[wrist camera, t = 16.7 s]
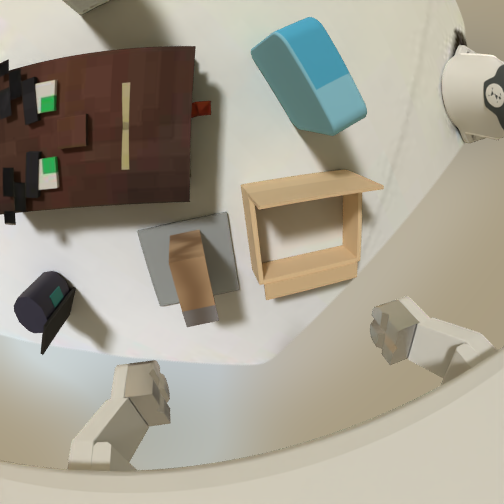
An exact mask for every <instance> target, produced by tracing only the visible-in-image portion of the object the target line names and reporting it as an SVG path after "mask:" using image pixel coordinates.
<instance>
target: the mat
mask: <svg viewBox="0 0 504 504" xmlns="http://www.w3.org/2000/svg"><path fill="white" fill-rule="evenodd" d="M194 230H200V235H201V240H202V245H203V250H204V255H205V259H206V264H207V269H208V273H209V277H210V282H211V287H212V291H213V295H218V294H222V293H227V292H231V291H236V290H239V285H238V279H237V273H236V267H235V261H234V255H233V249H232V243H231V237H230V230H229V224H228V218H227V213H226V212H223V213H218V214H213V215H208V216H203V217H198V218H193V219H189V220H184V221H179V222H174V223H170V224H165V225H160V226H156V227H151V228H147V229H142V230H138V236H139V240H140V243H141V247H142V250H143V254H144V257H145V260H146V264H147V267H148V270H149V273H150V277H151V280H152V283H153V286H154V289H155V292H156V295H157V298H158V301H159V304H160V306H165V305H170V304H174V303H179V299H178V295H177V292H176V288H175V285H174V281H173V277H172V274H171V270H170V266H169V242H170V235H175V234H180V233H184V232H189V231H194Z"/></svg>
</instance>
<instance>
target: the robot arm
mask: <svg viewBox="0 0 504 504" xmlns="http://www.w3.org/2000/svg"><path fill="white" fill-rule="evenodd" d="M442 95H443V100H444V104H445V108H446V110H447V113H448V115H449V117H450V119H451V120H452V122H453V123H454V124H455V125H456V126H457V127H458V129H459V130H460V133H461V136H462V138H463V140H464V142H466V143H472V142H475V141H478V140H481V139H484V138H491V139H495V140H499V139H500V138H503V137H504V62H503V61H500V60H499V59H498V58H497V57H495V56H493V55H485V54H477V53H475V52H474V51H472V50H471V49H469V48H468V47H466V46H463V45H459V46H458V48H457V50H456V53H455V55H454V56H453V57H452V58H451V59H450V60H449V61H448V62H447V64H446V66H445V68H444V71H443V75H442ZM372 316H373V318H374V320H373V322H372V323H371V325H370V334H371V338H372V340H373V342H374V344H375V345H376V346H377V347H379V348H381V349H382V355H383V356H384V358H385V359H386V360H387V362H388V363H389V365H392V364H394V363H397V362H400V361H402V360H405V359H407V358H408V360H410V361H412V362H414V363H416V364H418V365H419V366H421V367H423V368H425V369H427V370H429V371H431V372H433V373H434V374H436V375H438V376H440V377H442V378H443V381H442V383H441V385H440V386H439V387H438V388H436V389H434V390H432V391H430V392H428V393H426V394H424V395H422V396H420V397H418V398H416V399H414V400H412V401H410V402H408V403H406V404H404V405H402V406H399V407H397V408H395V409H393V410H391V411H388V412H386V413H384V414H381V415H379V416H377V417H374V418H372V419H369V420H367V421H365V422H362V423H359V424H357V425H354V426H351V427H349V428H346V429H343V430H341V431H338V432H335V433H332V434H329V435H326V436H323V437H320V438H317V439H313V440H311V441H307V442H304V443H300V444H297V445H293V446H290V447H286V448H282V449H278V450H274V451H270V452H266V453H262V454H258V455H253V456H249V457H243V458H239V459H233V460H228V461H222V462H217V463H210V464H203V465H196V466H187V467H178V468H168V469H157V470H136V469H135V468H134V467H133V466H132V465H131V464H130V463H129V462H130V460H131V458H132V456H133V455H134V453H135V451H136V449H137V448H138V446H139V444H140V442H141V441H142V439H143V437H144V435H145V434H146V432H147V430H148V428H149V427H148V426H155V425H162V424H169V423H170V408H169V406H168V404H167V402H168V401H169V399H170V398H169V389H168V384H167V381H166V378H165V376H164V375H163V374H161V373H160V366H159V364H158V362H157V361H156V360H153V361H146V362H137V363H130V364H123V365H117V366H116V368H115V372H114V378H113V384H112V391H111V398H110V399H109V400H106V401H105V403H104V404H103V405H102V406H101V407H100V408H99V410H98V411H97V412H96V413H95V414H94V416H93V417H92V418H91V419H90V420H89V421H88V423H87V424H86V425H85V426H84V427H83V428H82V430H81V431H80V432H79V433H78V434H77V435H76V437H75V438H74V439H73V440H72V442H71V449H70V455H69V462H68V469H56V468H47V467H38V466H30V465H24V464H18V463H12V462H7V461H2V460H0V504H504V347H502V348H501V349H499V350H497V349H496V348H495V347H494V346H493V345H492V344H491V343H490V342H489V341H488V340H487V339H486V338H485V337H484V336H483V335H482V334H481V333H479V332H476V331H473V330H470V329H467V328H464V327H461V326H458V325H455V324H451V323H449V322H445V321H442V320H440V319H437V318H434V317H433V318H429V316H428V315H427V314H426V313H425V312H424V311H423V310H422V309H421V308H420V307H418V305H417V304H416V303H415V302H414V301H413V300H412V299H410V297H408V296H405V297H402V298H399V299H396V300H394V301H391V302H388V303H385V304H382V305H379V306H376V307H374V309H373V311H372Z"/></svg>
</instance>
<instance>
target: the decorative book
mask: <svg viewBox="0 0 504 504" xmlns="http://www.w3.org/2000/svg"><path fill="white" fill-rule="evenodd" d="M195 47H196V46H170V47H145V48H130V49H119V50H110V51H101V52H94V53H87V54H81V55H75V56H69V57H64V58H59V59H54V60H49V61H44V62H40V63H36V64H32V65H28V66H24V67H20V68H17V69H13V70H10V71H9V59H8V60H6V61H4V62H2V63H0V214H4V219H5V224H9V225H16V222H15V213H18V212H28V211H39V210H50V209H62V208H75V207H89V206H104V205H122V204H142V203H167V202H190V177H191V170H190V138H191V118H193V117H196V116H203V115H211V101H200V102H194V103H192V91H193V75H194V60H195Z"/></svg>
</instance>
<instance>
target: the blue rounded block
mask: <svg viewBox="0 0 504 504" xmlns="http://www.w3.org/2000/svg"><path fill="white" fill-rule="evenodd" d="M251 55H252V58H253V60H254V61H255V63H256V65H257V66H258V68H259V69H260V71H261V72H262V74H263V76H264V77H265V79H266V80H267V82H268V83H269V85H270V87H271V88H272V90H273V92H274V93H275V95H276V97H277V98H278V100H279V101H280V103H281V105H282V107H283V108H284V110H285V112H286V113H287V115H288V117H289V118H290V120H291V122H292V123H293V124H294V125H295V126H296V127H297V128H298V129H300V130H306V131H311V132H316V133H321V134H326V135H331V136H334V135H336V134H338V133H339V132H341V131H343V130H344V129H346V128H348V127H349V126H351V125H353V124H354V123H356V122H358V121H360V120H361V119H363V118H365V117H366V114H367V109H366V105H365V103H364V101H363V99H362V97H361V95H360V93H359V91H358V89H357V87H356V85H355V83H354V81H353V79H352V77H351V75H350V73H349V71H348V69H347V67H346V65H345V63H344V61H343V60H342V58H341V56H340V54H339V52H338V51H337V49H336V47H335V45H334V44H333V42H332V40H331V38H330V37H329V35H328V33H327V32H326V30H325V28H324V27H323V25H322V24H321V23H320V22H319V21H318V20H316V19H315V18H312V17H308V18H305V19H303V20H300V21H298V22H295V23H293V24H291V25H288V26H286V27H284V28H282V29H279V30H277V31H275V32H273V33H272V34H270V35H269V36H268V37H266V38H265V39H264V40H263V41H261V42H260V43H259V44H258V45H256V46H255V47H254V48H253V49H252V50H251Z"/></svg>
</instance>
